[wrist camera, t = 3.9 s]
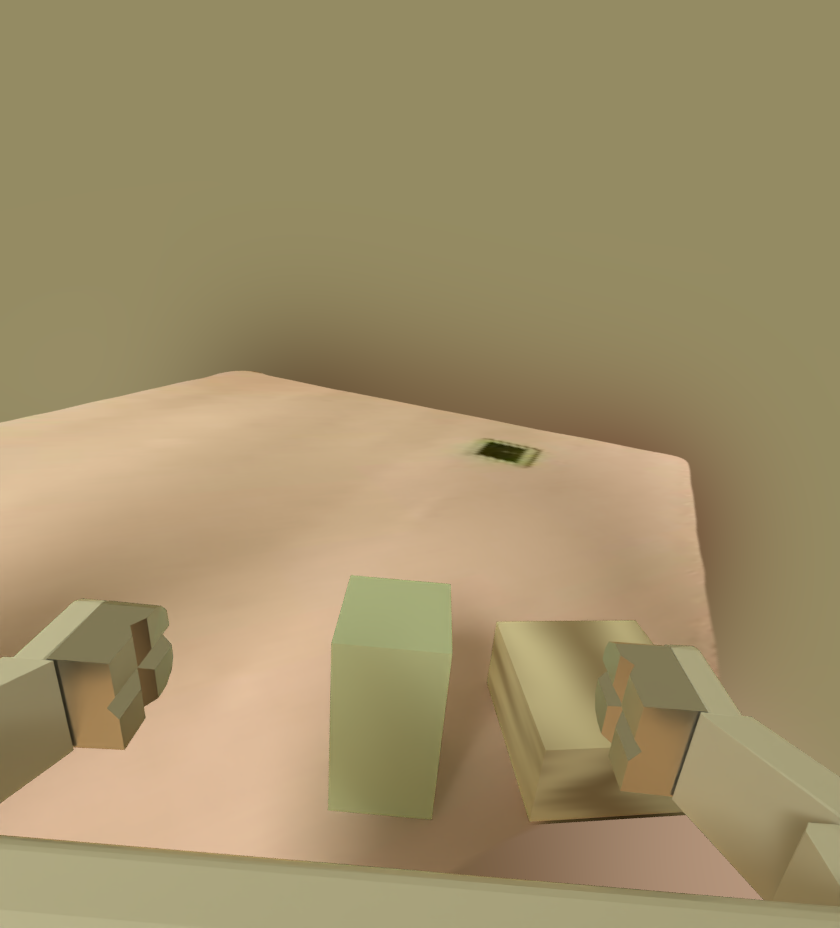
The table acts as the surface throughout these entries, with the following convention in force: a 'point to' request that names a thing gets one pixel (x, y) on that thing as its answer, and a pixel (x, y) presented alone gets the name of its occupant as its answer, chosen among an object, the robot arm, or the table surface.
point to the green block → (388, 696)
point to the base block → (562, 720)
